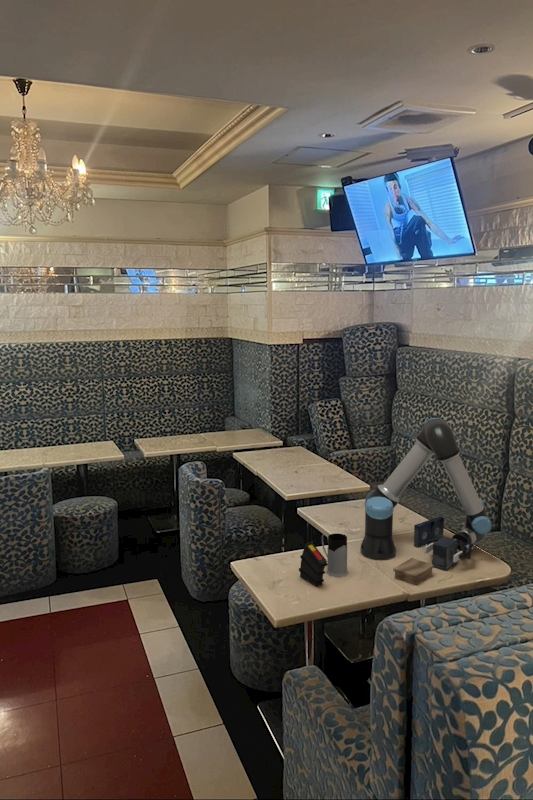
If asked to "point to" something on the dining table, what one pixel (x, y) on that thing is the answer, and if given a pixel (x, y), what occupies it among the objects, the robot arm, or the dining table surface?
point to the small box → (444, 553)
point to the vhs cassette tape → (428, 531)
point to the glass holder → (336, 555)
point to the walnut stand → (413, 571)
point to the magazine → (312, 565)
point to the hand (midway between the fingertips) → (439, 554)
